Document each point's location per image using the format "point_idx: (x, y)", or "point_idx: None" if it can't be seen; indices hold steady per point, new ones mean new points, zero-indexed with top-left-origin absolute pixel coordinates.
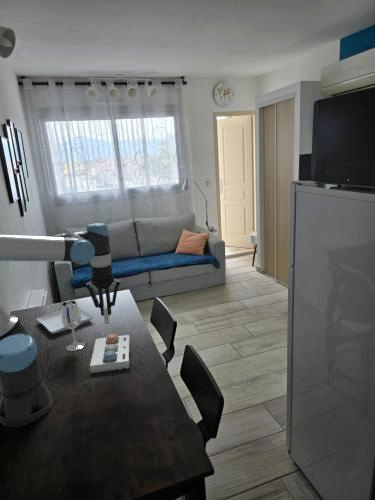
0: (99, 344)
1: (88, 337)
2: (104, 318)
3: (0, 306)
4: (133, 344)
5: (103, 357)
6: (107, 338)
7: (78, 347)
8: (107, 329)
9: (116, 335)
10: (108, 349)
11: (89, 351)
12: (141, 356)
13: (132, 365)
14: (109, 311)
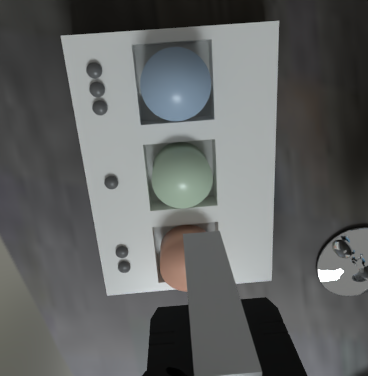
0: (249, 228)
1: (304, 322)
2: (229, 267)
3: None
4: (90, 245)
5: (213, 103)
6: None
7: (343, 247)
8: None
9: (164, 274)
10: (192, 157)
11: (290, 216)
12: (28, 137)
13: (59, 61)
14: (169, 345)
